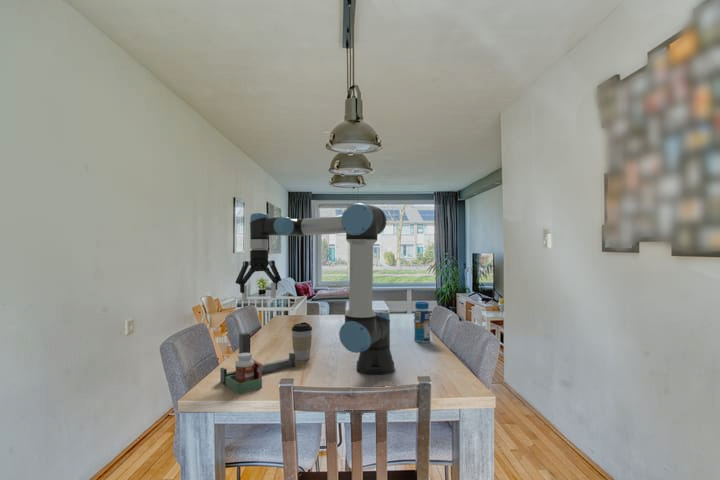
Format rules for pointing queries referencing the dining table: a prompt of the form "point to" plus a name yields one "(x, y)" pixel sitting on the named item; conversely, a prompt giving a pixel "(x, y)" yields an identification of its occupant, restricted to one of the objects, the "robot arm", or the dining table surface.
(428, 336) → the beverage bottle
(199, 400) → the dining table surface
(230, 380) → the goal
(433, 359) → the dining table surface
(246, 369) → the pill bottle
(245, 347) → the kicker
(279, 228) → the robot arm
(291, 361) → the rail
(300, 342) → the coffee cup
